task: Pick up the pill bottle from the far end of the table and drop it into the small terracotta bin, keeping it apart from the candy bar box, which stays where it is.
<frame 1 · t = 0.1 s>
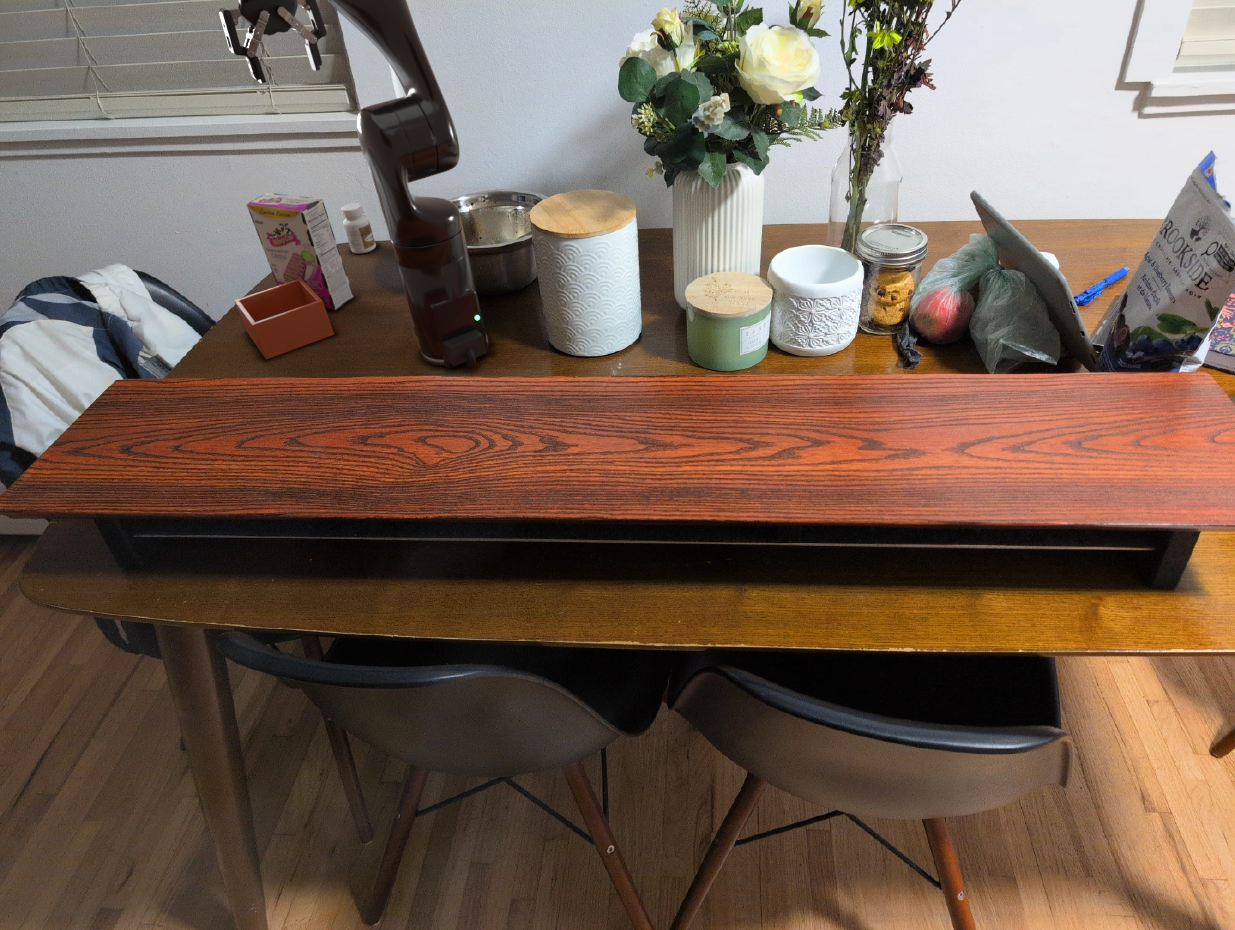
hand: (289, 76, 131), 29 cm above the table, tool pointing down, fingers open, 8 cm apart
pill bottle: (364, 249, 150), on the table
bin: (290, 334, 127), on the table
candy bar box: (318, 301, 135), on the table
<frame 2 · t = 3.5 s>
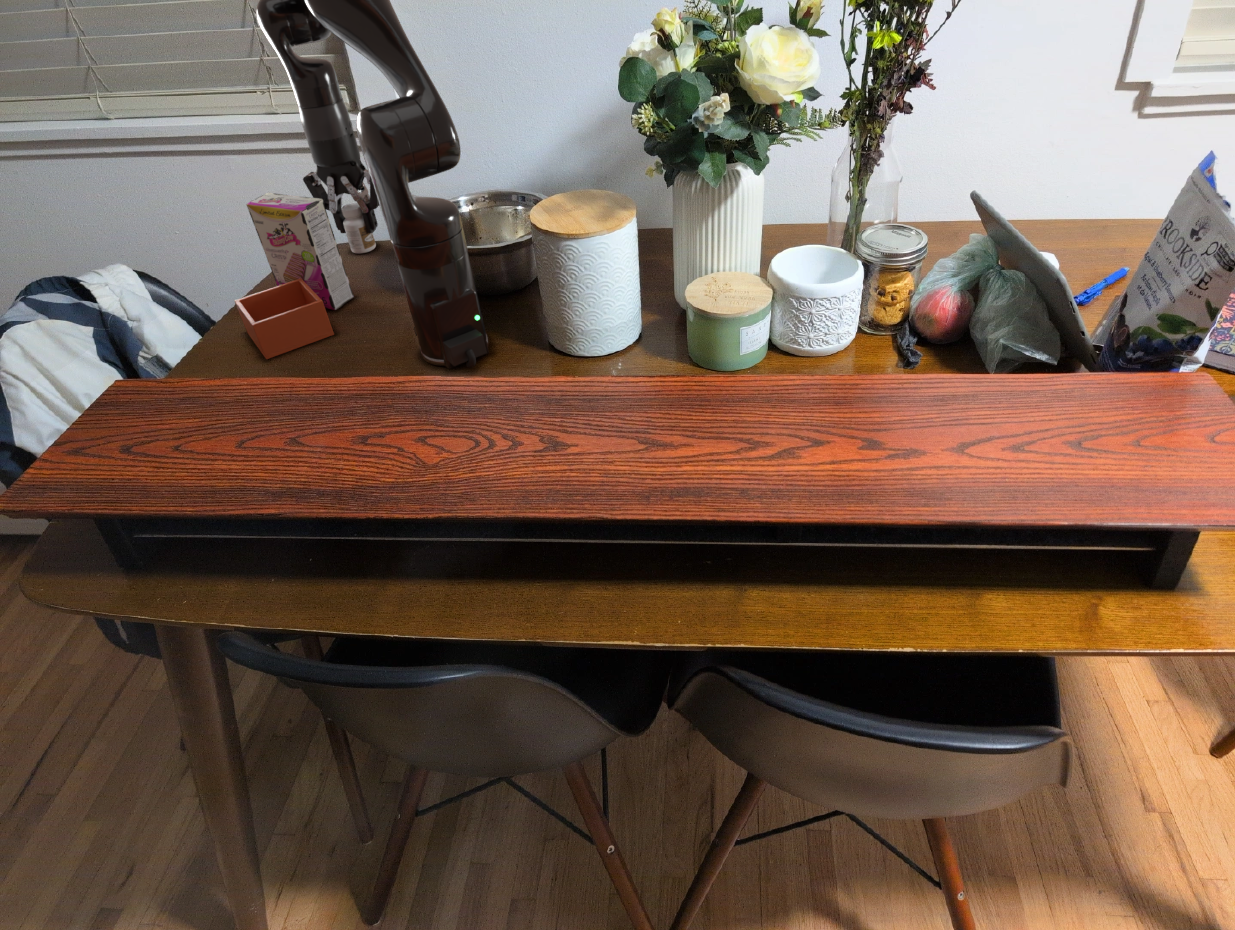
hand: (358, 230, 148), 3 cm above the table, tool pointing down, fingers closed on pill bottle, 4 cm apart
pill bottle: (364, 249, 150), on the table, touching gripper
everything else where it was.
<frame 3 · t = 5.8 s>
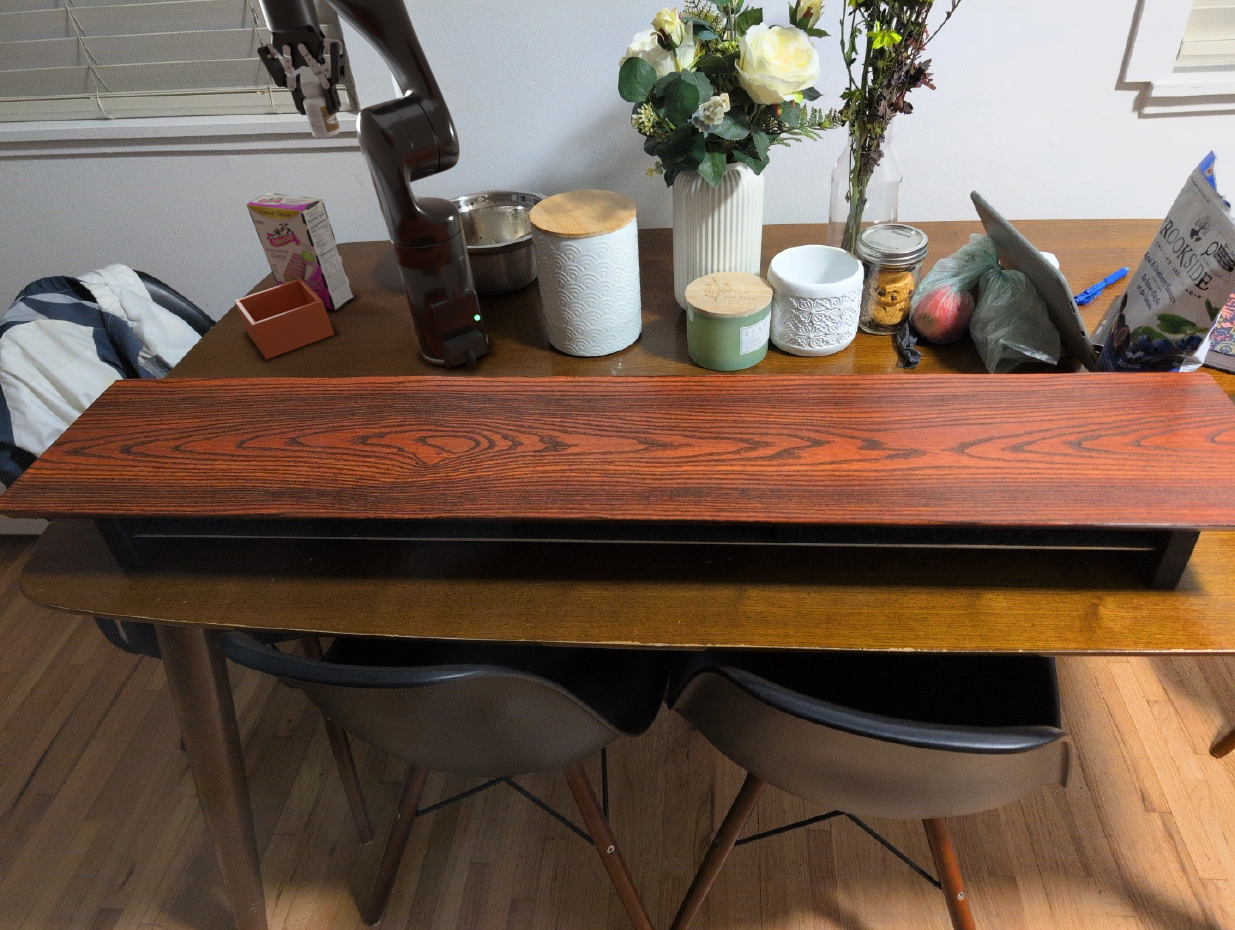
hand: (320, 112, 134), 24 cm above the table, tool pointing down, fingers closed on pill bottle, 4 cm apart
pill bottle: (327, 135, 136), point 20 cm above the table, touching gripper
everything else where it was.
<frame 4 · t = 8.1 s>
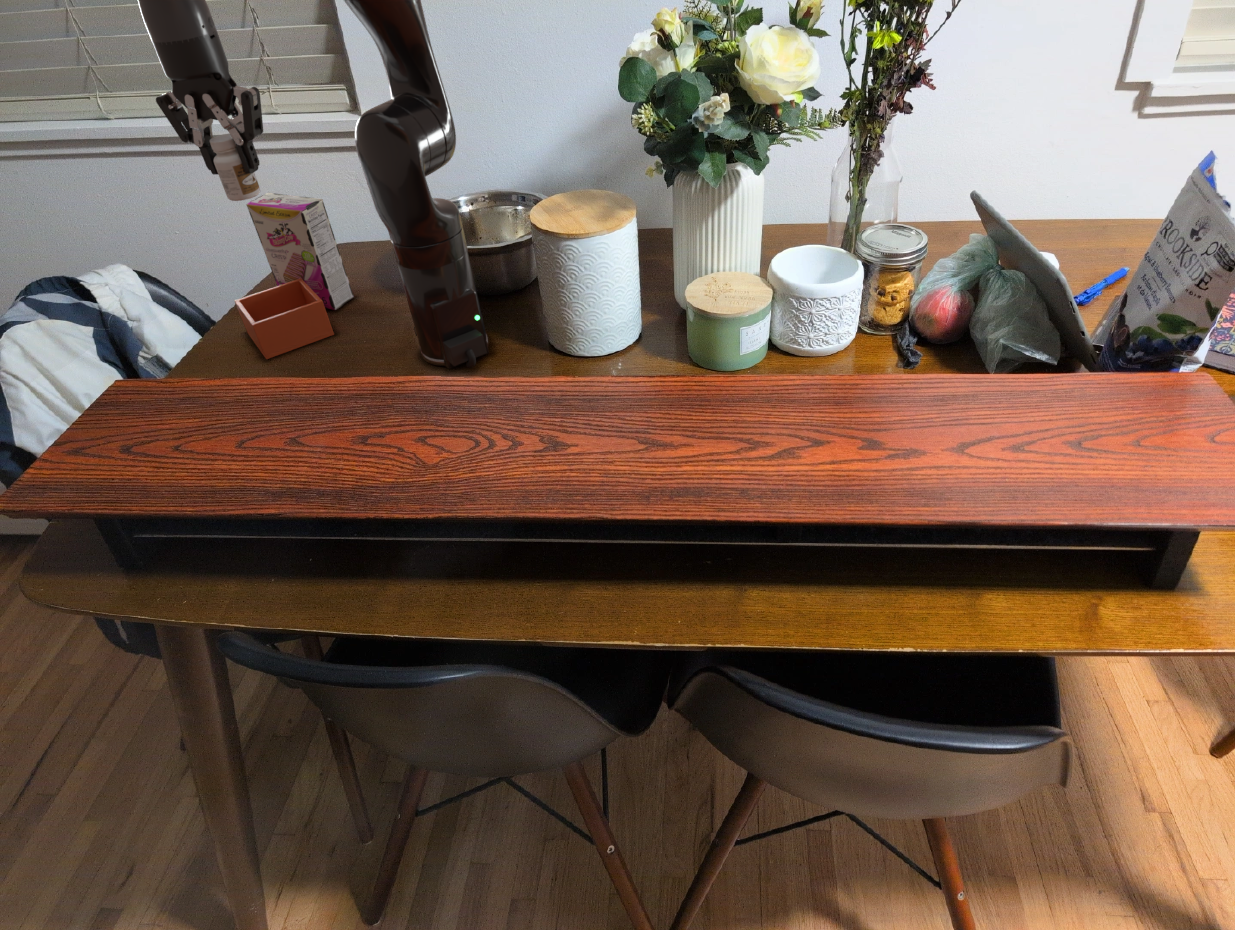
hand: (235, 171, 113), 24 cm above the table, tool pointing down, fingers closed on pill bottle, 4 cm apart
pill bottle: (245, 197, 115), point 21 cm above the table, touching gripper
everything else where it was.
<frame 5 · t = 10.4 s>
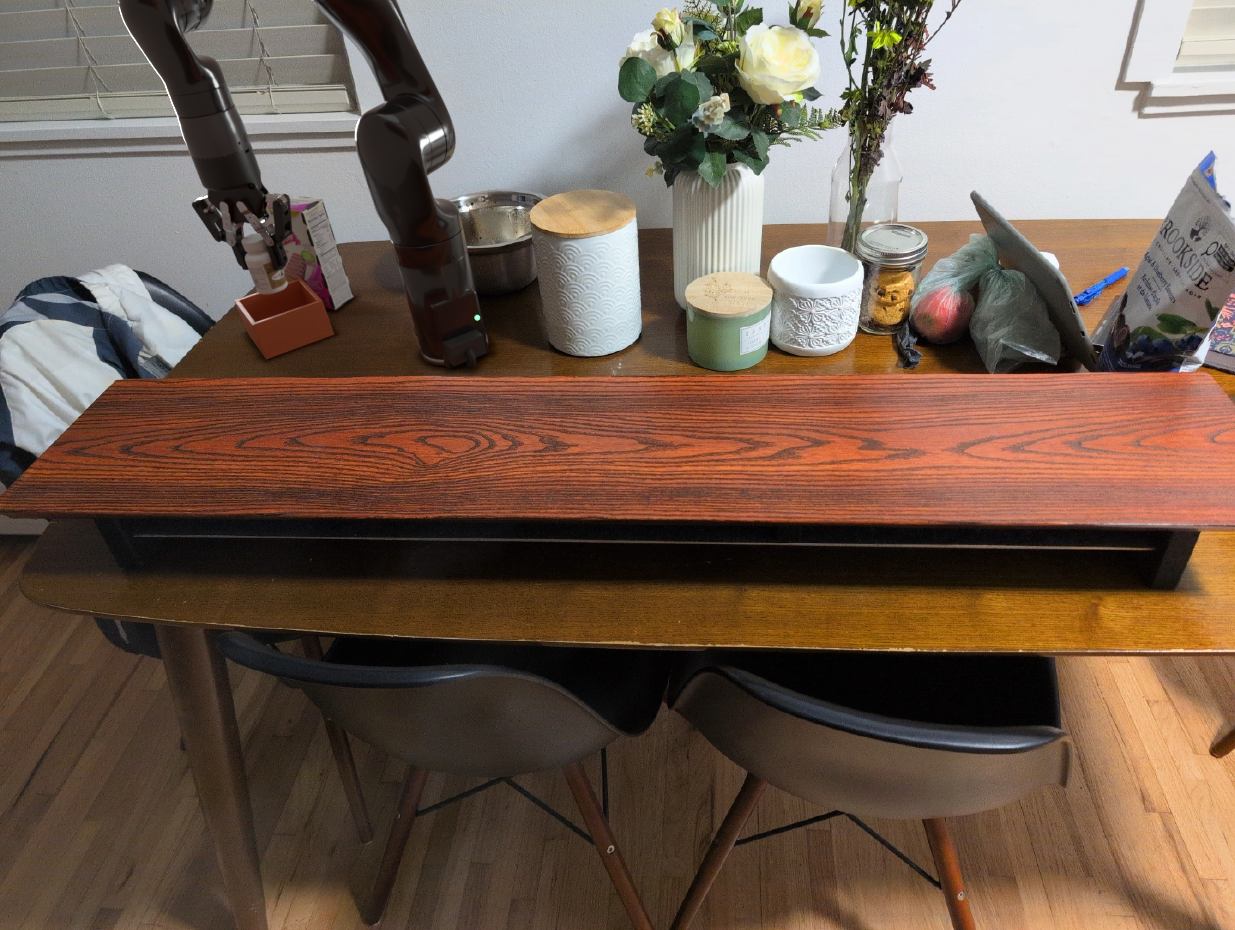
hand: (265, 267, 120), 11 cm above the table, tool pointing down, fingers closed on pill bottle, 4 cm apart
pill bottle: (273, 289, 123), point 7 cm above the table, touching gripper
everything else where it was.
when the fingers open (4 cm above the table, at t = 12.5 s): pill bottle stays where it is, resting on bin.
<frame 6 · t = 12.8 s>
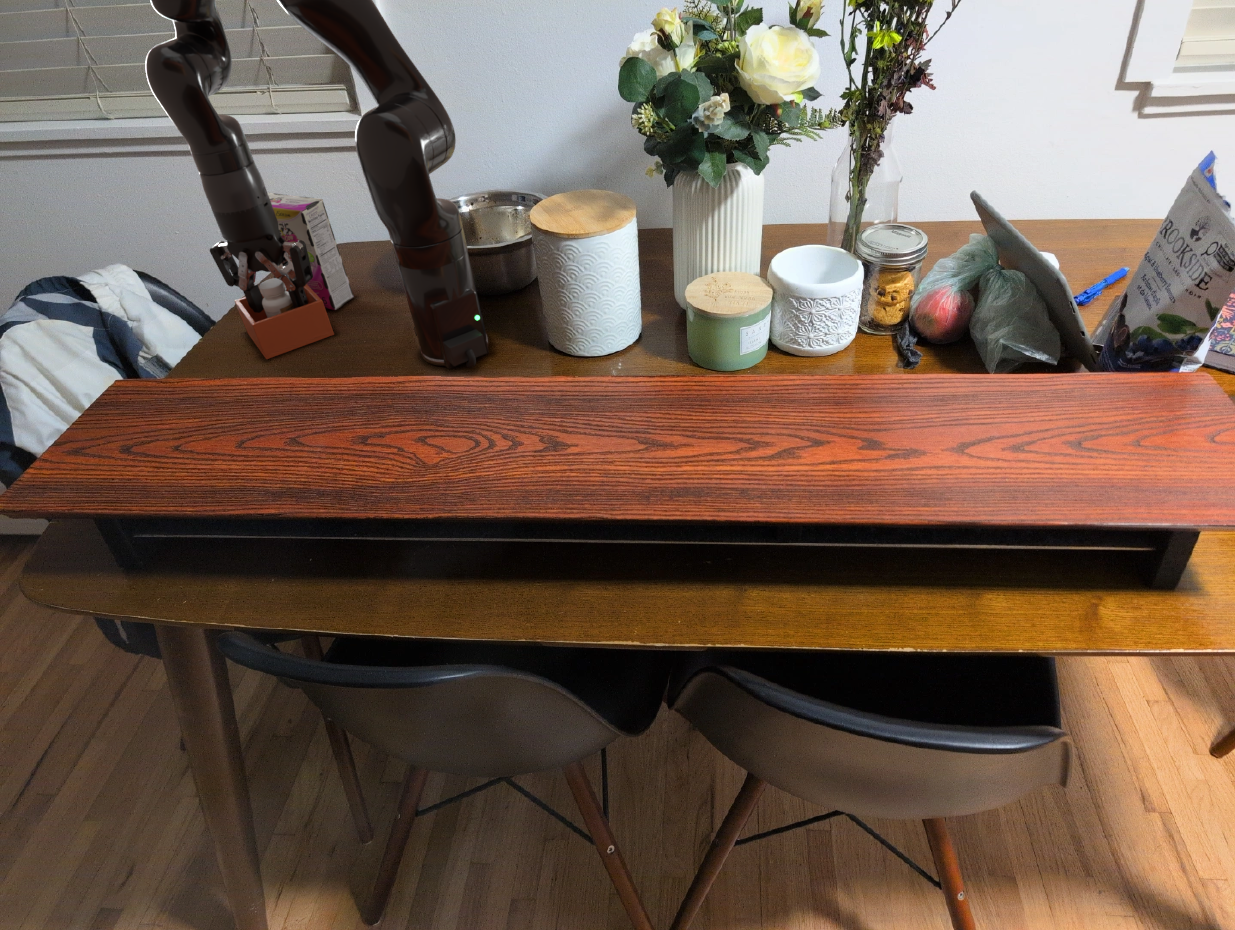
hand: (281, 310, 124), 4 cm above the table, tool pointing down, fingers open, 6 cm apart
pill bottle: (289, 331, 127), resting on bin
everything else where it was.
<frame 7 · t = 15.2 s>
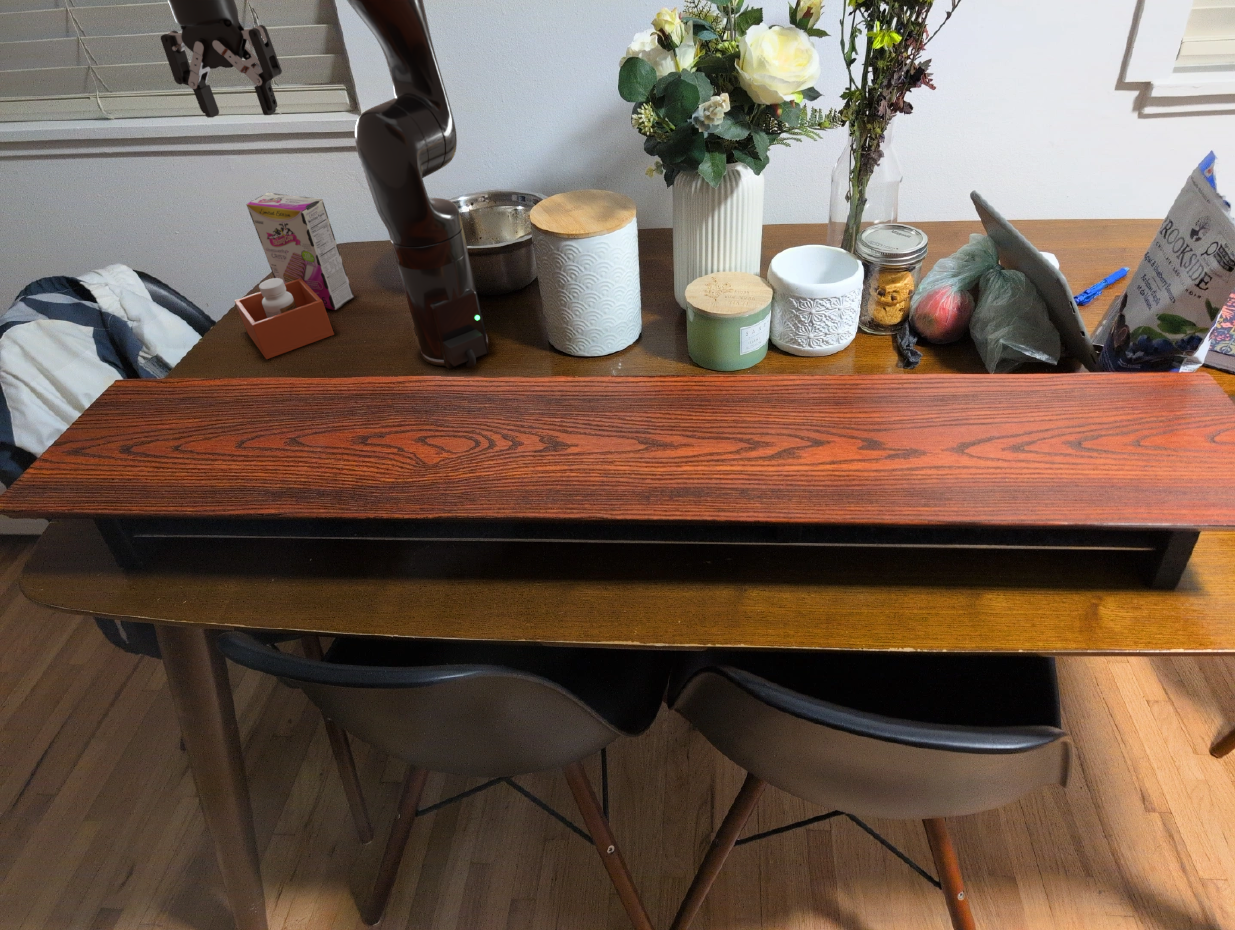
hand: (241, 114, 114), 30 cm above the table, tool pointing down, fingers open, 8 cm apart
nothing on the table moved.
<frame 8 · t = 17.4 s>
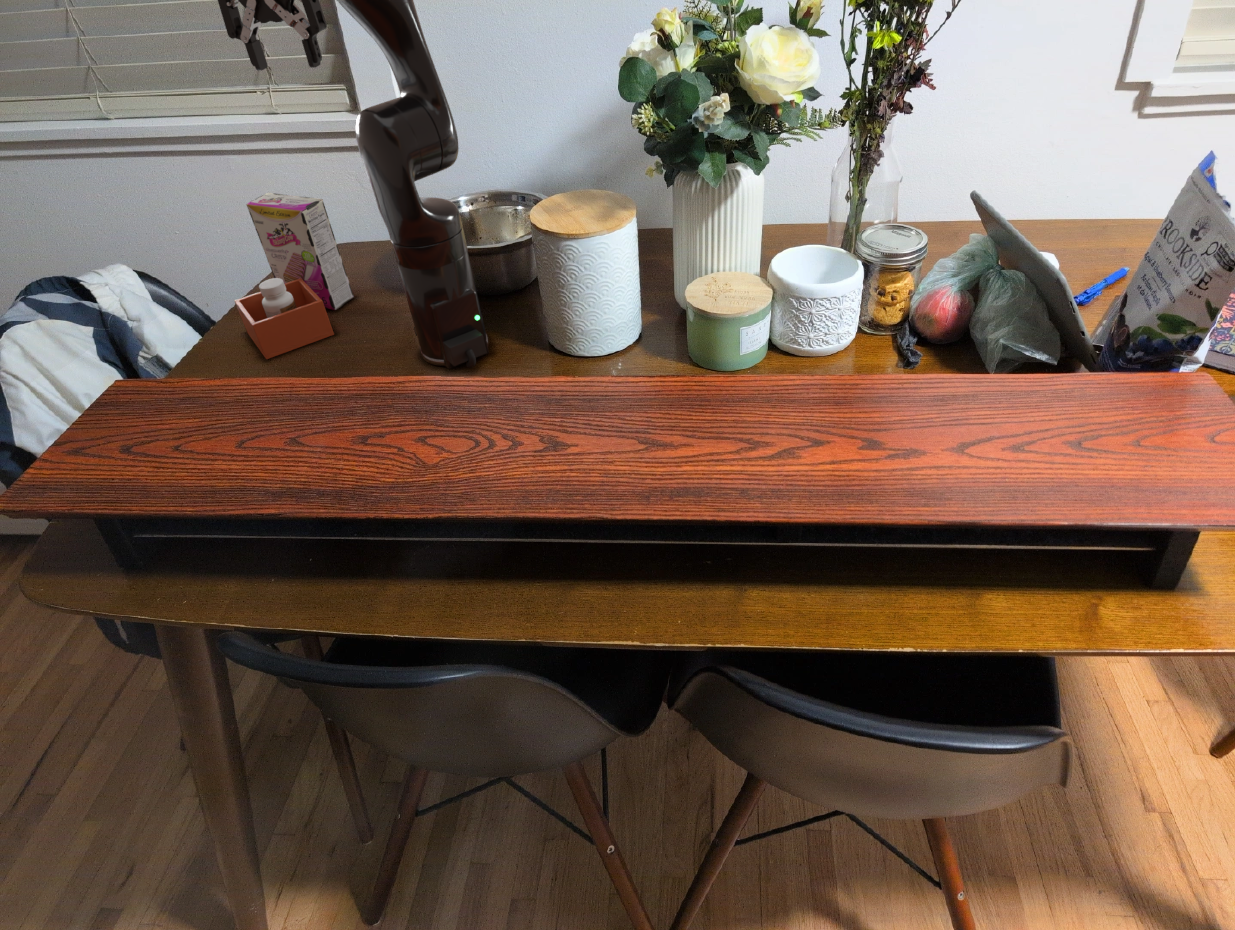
hand: (289, 67, 123), 32 cm above the table, tool pointing down, fingers open, 8 cm apart
nothing on the table moved.
at the end: pill bottle inside the target area in the bin (0.1 cm from its centre), point 0.4 cm above the bin's base; the gripper is holding nothing; candy bar box moved 0.2 cm from its start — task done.
